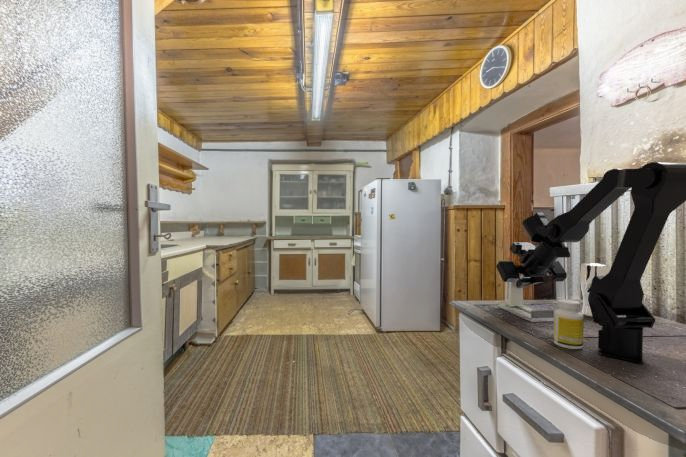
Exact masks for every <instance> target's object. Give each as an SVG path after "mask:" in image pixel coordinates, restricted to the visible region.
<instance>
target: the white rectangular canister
mask: <svg viewBox="0 0 686 457" xmlns="http://www.w3.org/2000/svg"><path fill="white" fill-rule="evenodd" d="M516 282H517V281H515V282H504V304H507V305H509V306H523V305H524V287H523V288H517V287H516Z"/></svg>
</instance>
